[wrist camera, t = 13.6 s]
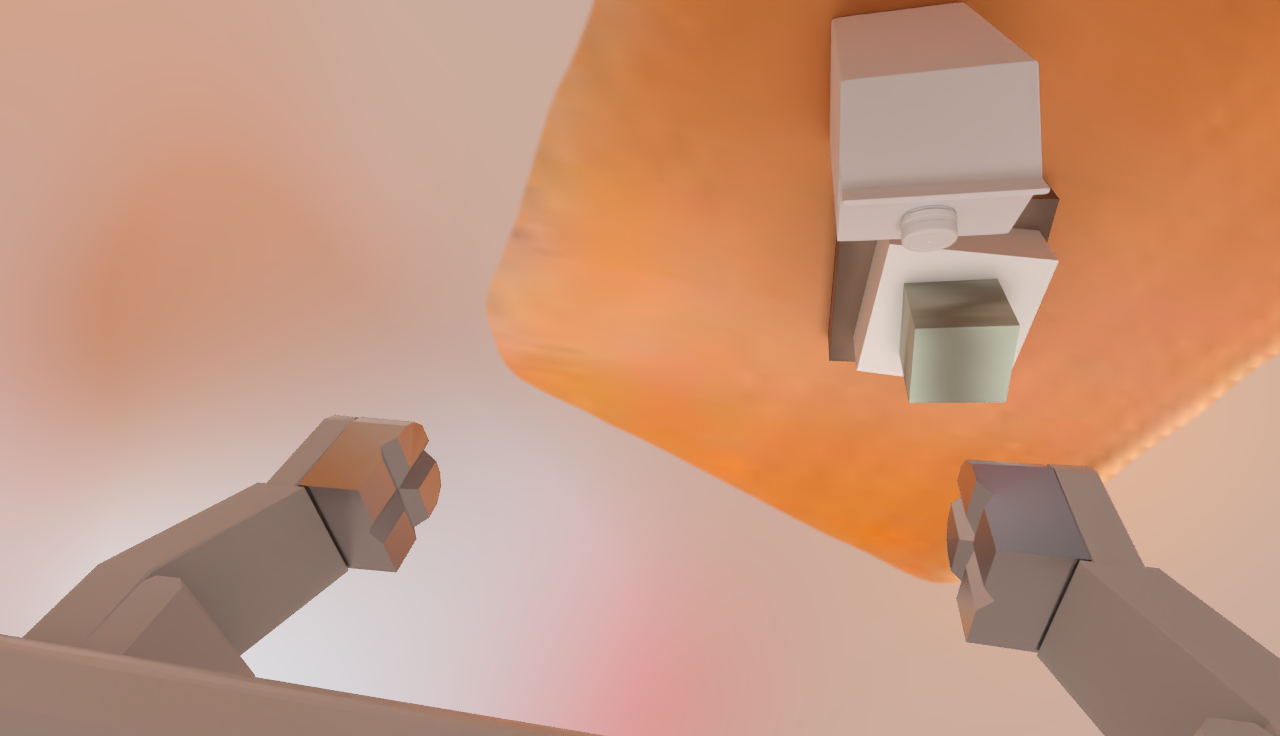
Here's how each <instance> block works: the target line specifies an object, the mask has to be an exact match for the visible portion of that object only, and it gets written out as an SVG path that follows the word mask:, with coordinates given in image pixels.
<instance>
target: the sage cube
mask: <svg viewBox="0 0 1280 736" xmlns="http://www.w3.org/2000/svg"><path fill="white" fill-rule="evenodd" d="M1019 329H1020V324H1019V322H1018V320H1017V318H1016V316H1015V314H1014V312H1013V310H1012V308H1011V306H1010V303H1009V301H1008V299H1007V297H1006V295H1005V293H1004V291H1003V289H1002V287H1001V285H1000V283H999V281H998V279H982V280H961V281H941V282H920V283H904V289H903V304H902V319H901V333H900V348H899V355H900V360H901V365H902V370H903V375H904V380H905V385H906V390H907V395H908V400H909V403H969V402H1006V399H1007V393H1008V388H1009V383H1010V377H1011V372H1012V366H1013V361H1014V356H1015V350H1016V345H1017V339H1018V334H1019Z"/></svg>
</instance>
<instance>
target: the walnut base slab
mask: <svg viewBox="0 0 1280 736" xmlns="http://www.w3.org/2000/svg"><path fill="white" fill-rule="evenodd" d="M1043 180H1044V179H1043ZM1044 181H1045V180H1044ZM1045 182H1046V181H1045ZM1047 185H1048V184H1047ZM1048 186H1049V185H1048ZM1058 201H1059V198H1058V197H1057V195H1056V194H1055V193H1054V192H1053V190H1052V189H1051V188H1050V192H1049V193H1047V194H1040V195H1033V196H1032V198H1031V199H1030V201H1029V203H1028V204H1027V206H1026V207H1025V209H1024V210H1023V212H1022V213H1021V215H1020V216H1019V218H1018V219H1017V221H1016V222H1015V224H1014V225H1013V227H1012V228H1018V229H1029V230H1039V231H1040V233H1041V234H1042V236H1043V237H1044V239H1045V240H1046V242H1047V240H1048V237H1049V233H1050V230H1051V226H1052V223H1053V219H1054V215H1055V212H1056V208H1057V205H1058ZM876 243H877V240H870V241H837V237H836V248H835V260H834V272H833V284H832V296H831V308H830V319H829V331H828V341H829V361H853V362H856V359H855V349H854V340H853V336H854V332H855V328H856V324H857V320H858V316H859V312H860V308H861V304H862V300H863V296H864V292H865V288H866V283H867V279H868V275H869V271H870V267H871V263H872V259H873V255H874V251H875V247H876Z"/></svg>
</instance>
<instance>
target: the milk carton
mask: <svg viewBox="0 0 1280 736" xmlns="http://www.w3.org/2000/svg"><path fill="white" fill-rule="evenodd" d="M830 154H831V167H832V180H833V193H834V206H835V219H836V232H837V241H870V240H890V239H901V242H902V245H903V247H904V248H906V249H907V250H911V251H919V252H926V251H935V250H940V249H944V248H947V247H949V246H951V245H952V244H953V243H954V242H955V241H956V240H957V237H958V236H976V235H992V234H1005V233H1009V231H1010V230H1011V229H1012V227H1013V225H1014V224H1015V222H1016V221H1017V219H1018V218H1019V216H1020V215H1021V213H1022V212H1023V210H1024V209H1025V207H1026V206H1027V204H1028V203H1029V201H1030V199H1031V198H1032V196H1033V195H1040V194H1047V193H1049V192H1050V187H1049V186H1048V185H1047V183H1046V182H1045V181H1044V180H1043V176H1042V146H1041V117H1040V87H1039V62H1038V61H1036V60H1035V59H1033V58H1032V57H1031V56H1030V55H1028V54H1027V53H1026V52H1025V51H1023V50H1022V49H1021V48H1020V47H1019V46H1017V45H1016V44H1015V43H1014V42H1012V41H1011V40H1010V39H1009V38H1007V37H1006V36H1005V35H1004V34H1003V33H1001V32H1000V31H999V30H998V29H996V28H995V27H994V26H993V25H991V24H990V23H989V22H988V21H987V20H985V19H984V18H983V17H982V16H980V15H979V14H978V13H977V12H976V11H974V10H973V9H972V8H971V7H969V6H968V5H967V4H966V3H962V2H960V3H950V4H941V5H934V6H926V7H918V8H910V9H902V10H894V11H886V12H878V13H870V14H862V15H854V16H847V17H840V18H835V19H833V20H832V22H831V76H830Z"/></svg>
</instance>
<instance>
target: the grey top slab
mask: <svg viewBox="0 0 1280 736" xmlns="http://www.w3.org/2000/svg"><path fill="white" fill-rule="evenodd" d="M1058 262H1059V260H1058V258H1057V257H1056V255H1055V254H1054V252H1053V251H1052V249H1051V248H1050V246H1049V245H1048V243H1047V242H1046V240H1045V239H1044V237H1043V236H1042V234H1041V233H1040V231H1039V230H1029V229H1018V228H1012V229H1011V230H1010V231H1009V233H1005V234H992V235H976V236H958V237H957V240H956V241H955V242H954V243H953V244H952V245H951V246H949V247H947V248H944V249H940V250H935V251H926V252H919V251H911V250H907V249H906V248H904V247H903V245H902V242H901V239H890V240H877V243H876V247H875V251H874V255H873V259H872V263H871V267H870V271H869V275H868V279H867V283H866V288H865V292H864V296H863V300H862V304H861V308H860V312H859V316H858V320H857V324H856V328H855V332H854V336H853V340H854V349H855V359H856V368H857V371H864V372H872V373H880V374H888V375H896V376H904V375H903V370H902V365H901V360H900V355H899V348H900V333H901V319H902V304H903V289H904V283H920V282H941V281H961V280H982V279H998V281H999V283H1000V285H1001V287H1002V289H1003V291H1004V293H1005V295H1006V297H1007V299H1008V301H1009V303H1010V306H1011V308H1012V310H1013V312H1014V314H1015V316H1016V318H1017V320H1018V322H1019V324H1020V329H1019V334H1018V339H1017V345H1016V350H1015V356H1014V361H1013V366H1014V364H1015V361H1016V359H1017V357H1018V354H1019V352H1020V350H1021V347H1022V345H1023V343H1024V340H1025V338H1026V336H1027V334H1028V331H1029V329H1030V327H1031V324H1032V322H1033V320H1034V317H1035V315H1036V313H1037V310H1038V308H1039V306H1040V303H1041V301H1042V299H1043V297H1044V294H1045V292H1046V290H1047V287H1048V285H1049V283H1050V280H1051V278H1052V276H1053V273H1054V271H1055V269H1056V266H1057V264H1058ZM1013 366H1012V368H1013Z"/></svg>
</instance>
